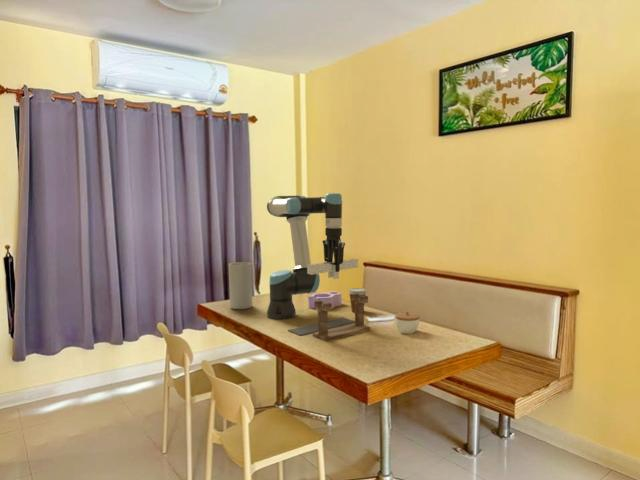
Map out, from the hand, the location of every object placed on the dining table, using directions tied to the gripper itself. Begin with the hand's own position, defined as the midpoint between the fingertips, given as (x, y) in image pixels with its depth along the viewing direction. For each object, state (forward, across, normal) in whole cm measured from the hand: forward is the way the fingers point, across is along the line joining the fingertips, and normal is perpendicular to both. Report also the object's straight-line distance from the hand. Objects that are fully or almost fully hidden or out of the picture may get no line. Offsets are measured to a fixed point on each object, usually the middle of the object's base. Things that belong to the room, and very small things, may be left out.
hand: (333, 277), depth 211 cm
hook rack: (+25, +6, 0) cm, 25 cm away
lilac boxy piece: (+26, -38, +26) cm, 53 cm away
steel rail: (-3, 0, 0) cm, 3 cm away
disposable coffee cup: (+26, -17, +32) cm, 44 cm away
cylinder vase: (+27, -69, -11) cm, 74 cm away
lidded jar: (+25, +25, +24) cm, 42 cm away
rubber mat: (+25, -8, 0) cm, 26 cm away
